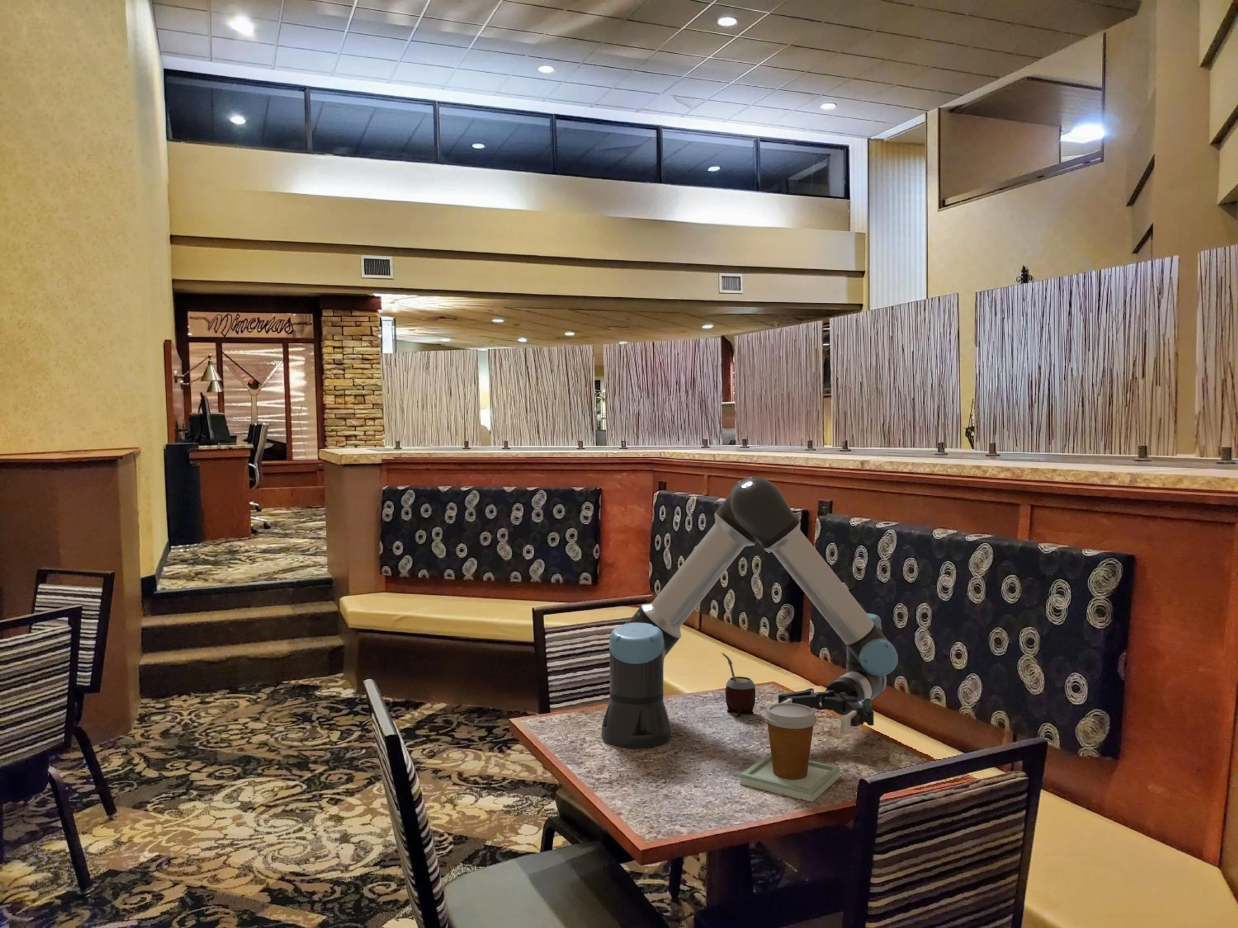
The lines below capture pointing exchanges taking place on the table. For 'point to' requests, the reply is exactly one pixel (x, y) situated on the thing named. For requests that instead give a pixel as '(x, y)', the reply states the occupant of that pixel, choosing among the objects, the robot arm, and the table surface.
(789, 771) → the disposable coffee cup
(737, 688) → the mate gourd
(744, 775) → the coaster plate
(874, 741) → the table surface
